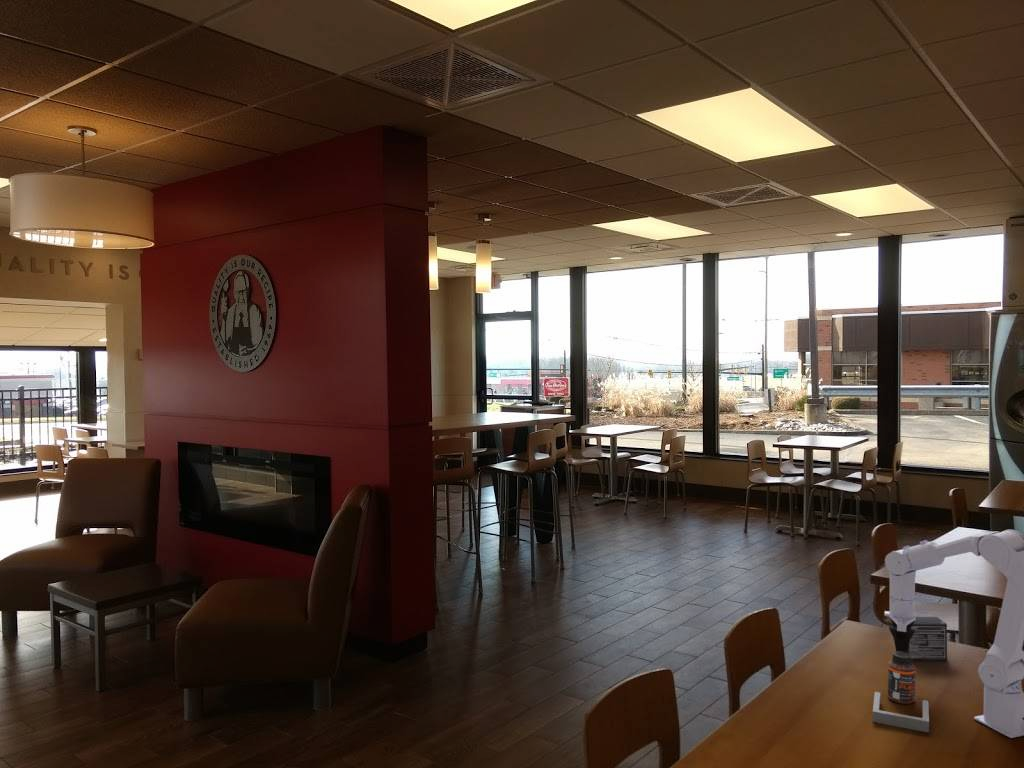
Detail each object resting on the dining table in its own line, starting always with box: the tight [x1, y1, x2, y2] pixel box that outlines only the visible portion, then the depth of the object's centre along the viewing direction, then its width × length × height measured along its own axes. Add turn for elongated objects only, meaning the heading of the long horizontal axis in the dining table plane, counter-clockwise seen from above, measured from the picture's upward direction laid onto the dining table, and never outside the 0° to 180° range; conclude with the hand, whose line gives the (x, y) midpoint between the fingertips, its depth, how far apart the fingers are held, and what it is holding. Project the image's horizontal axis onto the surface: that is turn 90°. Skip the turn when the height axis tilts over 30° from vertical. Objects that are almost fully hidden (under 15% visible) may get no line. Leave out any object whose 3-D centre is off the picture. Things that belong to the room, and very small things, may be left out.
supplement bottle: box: [887, 650, 916, 705], centre depth 187 cm, size 6×6×11 cm
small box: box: [907, 616, 948, 662], centre depth 212 cm, size 11×6×10 cm, turn 84°
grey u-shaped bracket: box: [872, 691, 930, 733], centre depth 178 cm, size 11×11×2 cm
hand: (901, 650), depth 194 cm, fingers open, 6 cm apart
